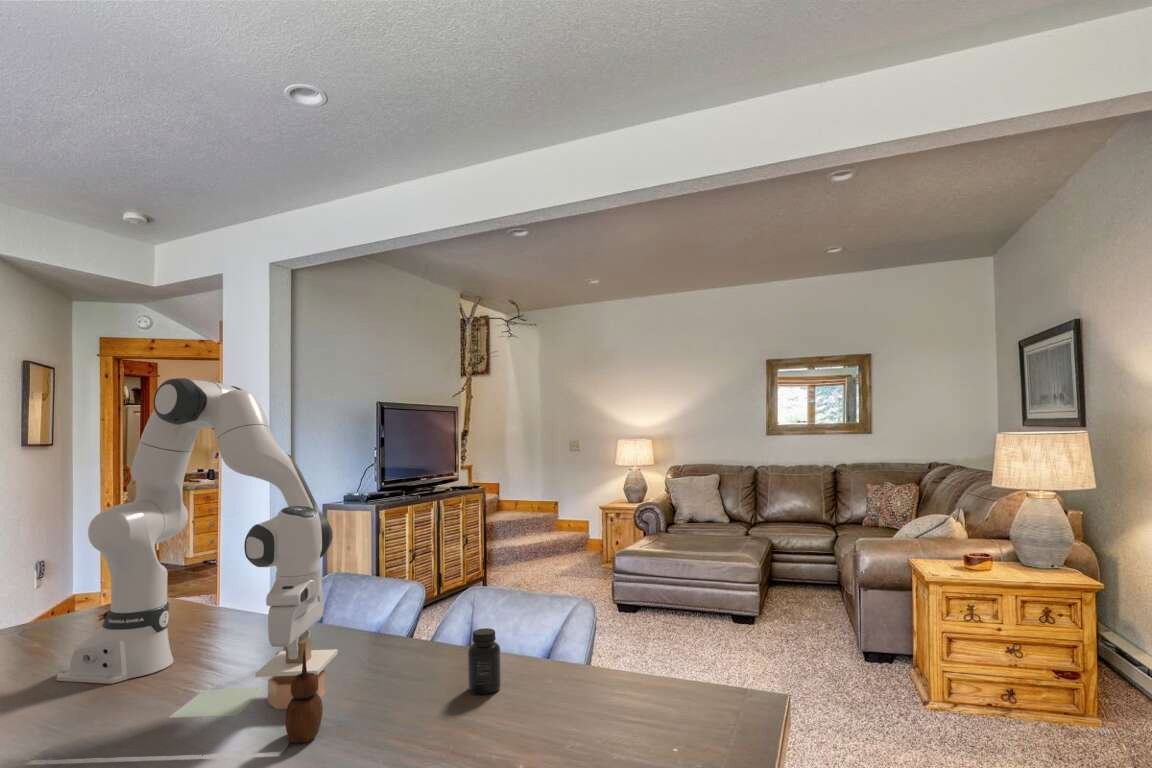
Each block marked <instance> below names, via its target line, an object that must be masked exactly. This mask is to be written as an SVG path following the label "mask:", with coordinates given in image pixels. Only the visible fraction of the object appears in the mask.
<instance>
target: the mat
mask: <svg viewBox="0 0 1152 768" xmlns="http://www.w3.org/2000/svg"><path fill="white" fill-rule="evenodd" d="M266 689H267V687H256V688H254V687H252V688H248V687H247V688H225V689H224V688H223V689H222V688H221V689H220V688H219V689H217V688H216V689H215V688H213V689H203V690H202V691H201V692H200V693H198V694H197V695H196V696H194V697H193V698H191V699H190V700H189V701H188V702H186V703H185V704H184V705H183V706H181V707H180V708H179V709H177V710H176V711H175V712H173V713H172V714H171V715H169V716H168V719H174V718H175V719H177V718H178V719H179V718H208V717H209V718H210V717H213V718H214V717H234V716H235V717H237V716H239V715H240V714H241V713H242V712H243V711H244V710H245V709H246V708H247V707H249V705H250V704H251V703H253V702H254V701H255V700H256V699H257V698H258V697H259V696H260V695H262V693H263V692H264V691H265V690H266Z"/></svg>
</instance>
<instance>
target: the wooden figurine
mask: <svg viewBox="0 0 1152 768" xmlns="http://www.w3.org/2000/svg"><path fill="white" fill-rule="evenodd" d="M317 689H318V678H317V676H316V675H315V674H314V673H309V672H308V673H307V669H306V657H305V650H304V652H303V665H302V673H301V674H299V675H297V676H295V677H294V678H293V680H292V682H291V694H292V696H293V698H292V699H291V701H290V702H289V704H288V706H287V709H285V710H286V713H285V723H284V725H285V730H286V733H287V736H288V739H289V740H290V741H291V742H292V743H294V744H303V743H307V742H310V741H312V740H313V739H315V737H317V735H318V733H319V731H320V727H321V725H322V719H323V718H322V717H323V710H324V709H323V708H324V707H323V701H322V697H321V698H320V696H319V695H318V694H317V693H316V691H317Z"/></svg>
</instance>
